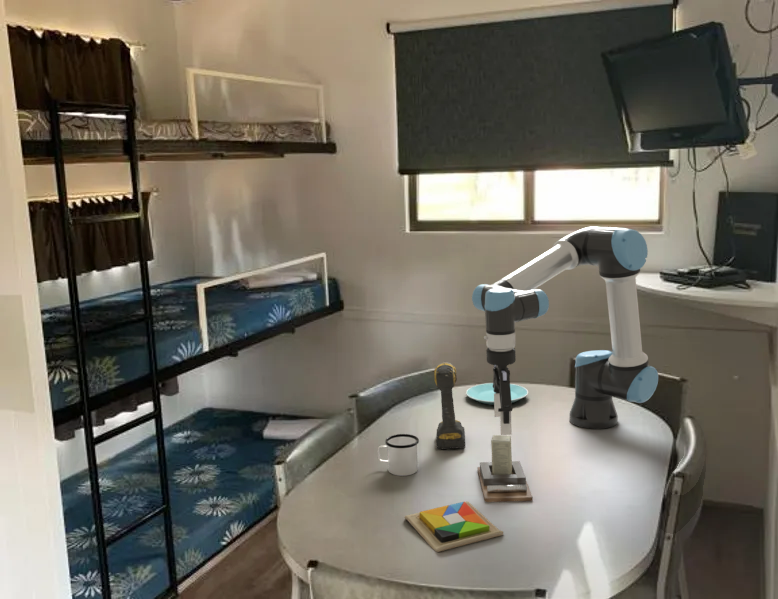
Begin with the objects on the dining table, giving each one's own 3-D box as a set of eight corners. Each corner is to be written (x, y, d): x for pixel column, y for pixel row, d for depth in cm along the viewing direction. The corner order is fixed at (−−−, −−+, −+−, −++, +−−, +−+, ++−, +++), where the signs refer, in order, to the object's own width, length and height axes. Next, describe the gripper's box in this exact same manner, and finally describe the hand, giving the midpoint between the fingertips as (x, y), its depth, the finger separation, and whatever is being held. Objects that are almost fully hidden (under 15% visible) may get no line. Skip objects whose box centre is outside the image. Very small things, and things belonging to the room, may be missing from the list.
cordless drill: (465, 428, 248) (463, 353, 243) (465, 452, 228) (463, 370, 224) (437, 428, 249) (435, 353, 244) (434, 452, 229) (432, 371, 225)
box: (512, 474, 209) (512, 435, 207) (511, 480, 205) (510, 441, 203) (493, 472, 210) (492, 434, 208) (491, 479, 206) (490, 440, 204)
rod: (525, 489, 199) (525, 483, 199) (527, 492, 197) (527, 486, 197) (487, 490, 199) (487, 484, 199) (487, 493, 198) (487, 487, 197)
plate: (463, 408, 269) (463, 400, 268) (468, 389, 290) (468, 381, 290) (528, 409, 265) (528, 401, 264) (528, 390, 286) (528, 382, 286)
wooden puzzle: (438, 556, 171) (438, 541, 170) (402, 521, 188) (402, 508, 187) (505, 538, 178) (505, 524, 177) (465, 506, 195) (464, 493, 194)
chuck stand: (520, 469, 215) (520, 459, 214) (532, 500, 195) (532, 489, 194) (477, 470, 215) (477, 460, 214) (485, 502, 195) (484, 491, 195)
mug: (423, 465, 220) (423, 435, 218) (414, 478, 211) (413, 447, 209) (384, 461, 224) (383, 431, 222) (373, 474, 215) (371, 443, 213)
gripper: (481, 336, 213) (483, 409, 218) (491, 361, 189) (494, 443, 193) (508, 335, 213) (510, 408, 217) (522, 360, 189) (524, 441, 193)
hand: (502, 425), depth 205 cm, fingers open, 13 cm apart
